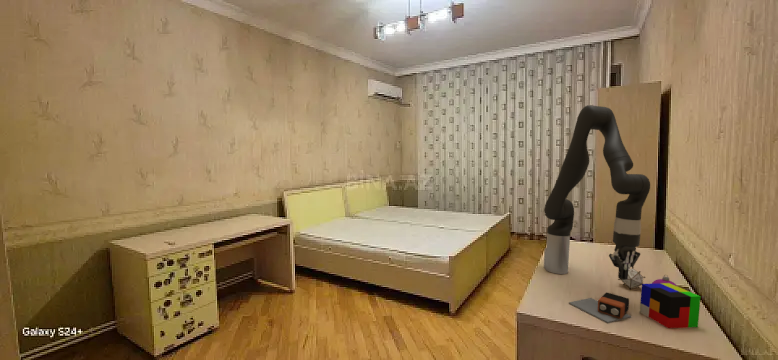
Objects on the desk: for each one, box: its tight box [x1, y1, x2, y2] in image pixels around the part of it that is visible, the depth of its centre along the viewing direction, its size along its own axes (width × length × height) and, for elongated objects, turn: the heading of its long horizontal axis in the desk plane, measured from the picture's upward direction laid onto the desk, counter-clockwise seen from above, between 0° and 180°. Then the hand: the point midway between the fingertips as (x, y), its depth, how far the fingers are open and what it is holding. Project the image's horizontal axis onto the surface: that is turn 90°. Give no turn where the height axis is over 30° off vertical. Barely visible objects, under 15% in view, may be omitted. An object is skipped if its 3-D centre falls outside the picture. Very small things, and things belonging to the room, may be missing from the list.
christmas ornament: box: [651, 274, 679, 287], centre depth 114 cm, size 8×8×10 cm
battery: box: [597, 292, 630, 319], centre depth 105 cm, size 4×7×10 cm
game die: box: [617, 266, 646, 291], centre depth 126 cm, size 9×8×10 cm
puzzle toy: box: [639, 283, 702, 329], centre depth 101 cm, size 10×10×10 cm
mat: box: [568, 297, 632, 324], centre depth 107 cm, size 14×11×1 cm
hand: (622, 278), depth 111 cm, fingers closed
